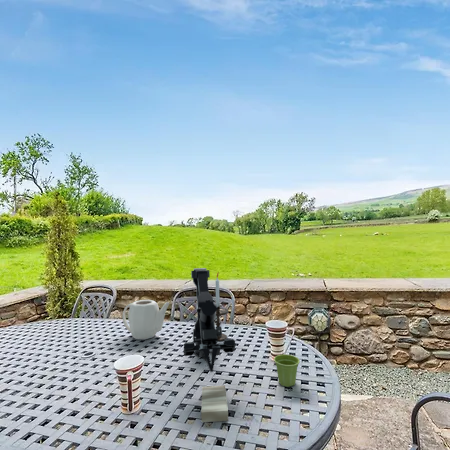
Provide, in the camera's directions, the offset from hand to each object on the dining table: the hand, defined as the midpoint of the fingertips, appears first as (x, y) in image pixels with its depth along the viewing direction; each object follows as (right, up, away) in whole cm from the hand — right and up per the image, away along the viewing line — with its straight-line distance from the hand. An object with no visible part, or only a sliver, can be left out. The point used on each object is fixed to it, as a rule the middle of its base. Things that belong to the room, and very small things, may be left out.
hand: (211, 371), depth 107 cm
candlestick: (+1, -9, +56) cm, 57 cm away
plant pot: (+28, -8, +8) cm, 30 cm away
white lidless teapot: (-38, -10, +61) cm, 72 cm away
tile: (+1, -7, +1) cm, 7 cm away
